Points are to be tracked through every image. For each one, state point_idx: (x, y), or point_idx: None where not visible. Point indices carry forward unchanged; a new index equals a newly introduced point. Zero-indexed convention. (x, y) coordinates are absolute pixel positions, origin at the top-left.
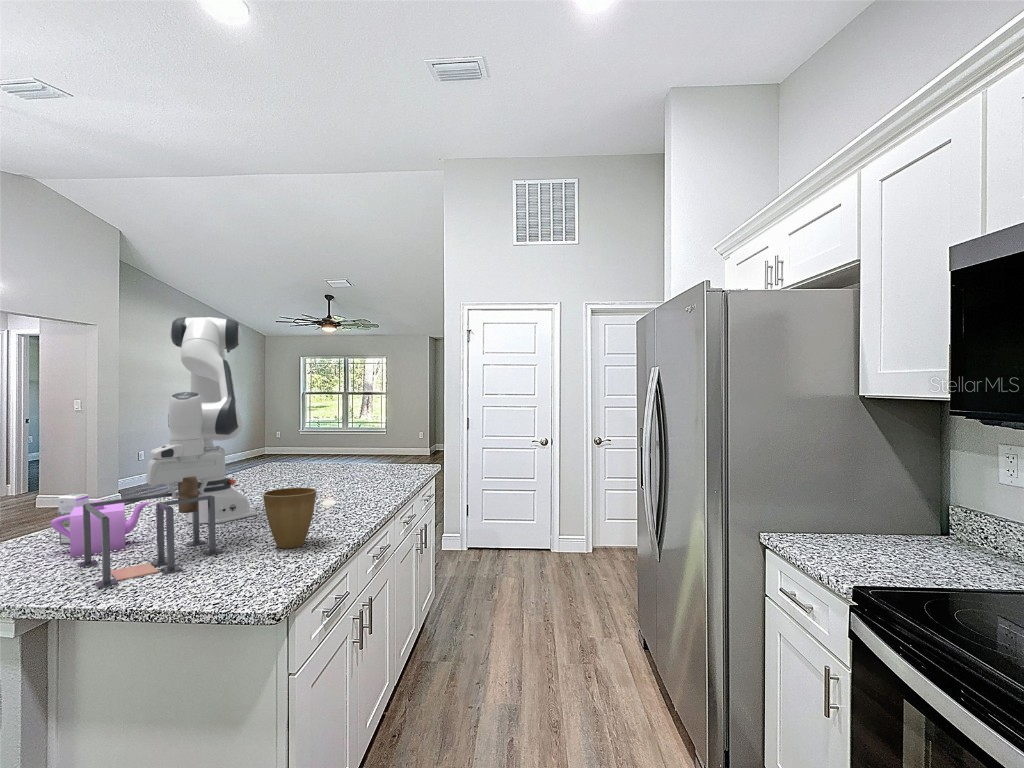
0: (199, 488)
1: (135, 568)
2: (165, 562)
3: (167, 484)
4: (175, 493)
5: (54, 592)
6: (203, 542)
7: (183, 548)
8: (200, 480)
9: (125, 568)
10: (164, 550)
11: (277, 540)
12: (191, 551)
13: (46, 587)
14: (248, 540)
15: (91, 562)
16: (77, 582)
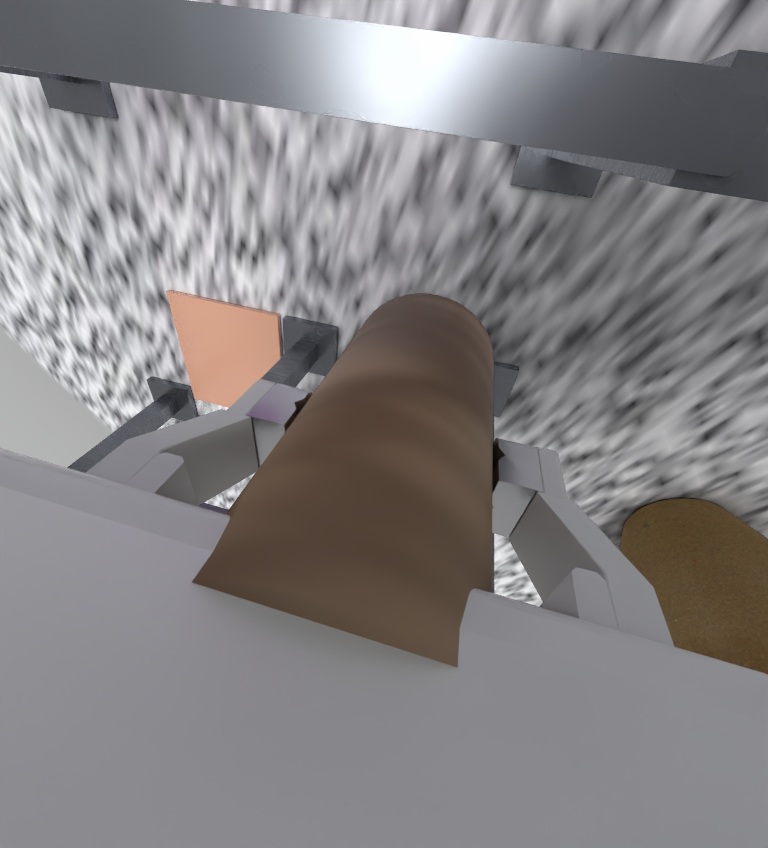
0: (534, 497)
1: (236, 342)
2: (316, 371)
3: (99, 467)
4: (254, 462)
5: (74, 346)
6: (578, 195)
7: (469, 177)
8: (566, 609)
9: (210, 312)
10: (301, 379)
11: (620, 546)
12: (456, 280)
13: (36, 281)
14: (727, 341)
15: (79, 79)
16: (104, 310)
